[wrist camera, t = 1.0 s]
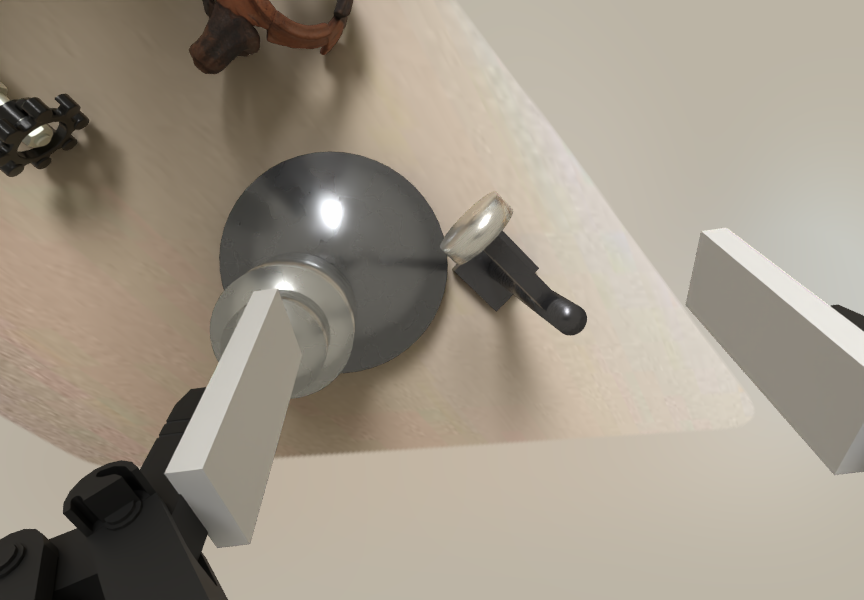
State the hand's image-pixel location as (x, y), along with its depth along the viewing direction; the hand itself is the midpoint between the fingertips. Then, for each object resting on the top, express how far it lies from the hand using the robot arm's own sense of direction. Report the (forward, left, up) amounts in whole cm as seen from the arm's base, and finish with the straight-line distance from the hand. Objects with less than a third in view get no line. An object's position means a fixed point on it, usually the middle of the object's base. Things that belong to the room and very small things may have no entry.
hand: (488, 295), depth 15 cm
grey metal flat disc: (-3, -6, -24) cm, 25 cm away
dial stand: (+4, +2, -24) cm, 24 cm away
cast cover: (-3, -11, -22) cm, 25 cm away
